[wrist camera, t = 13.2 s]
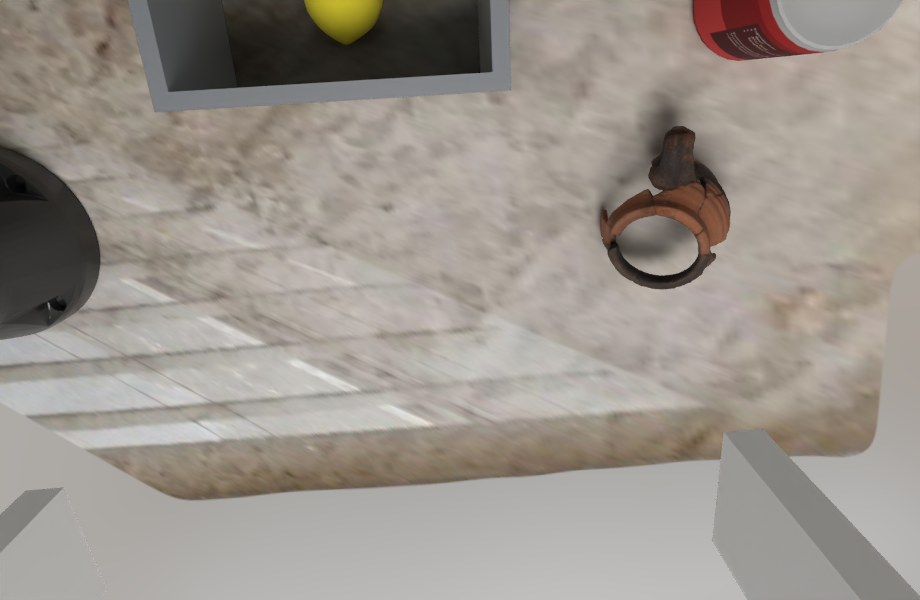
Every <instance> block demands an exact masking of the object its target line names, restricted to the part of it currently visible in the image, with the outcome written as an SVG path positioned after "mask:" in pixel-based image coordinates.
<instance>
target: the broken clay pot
mask: <svg viewBox="0 0 920 600" xmlns="http://www.w3.org/2000/svg"><path fill="white" fill-rule="evenodd" d="M694 142H695V133H694V132H693V131H691V130H689V129H687V128H686V127H684V126H675V127H673V128H672V129H671V130H670V131H668V132H667V133H666V135H665V139H664V143H663V149H662V152H661V153H660V155H658V156H657V157H656V158H655V159H653V161H652V167H651V168H650V172H649V175H648V176H649V179H650V181H651V183H652V185H653V186H654V187H655V188H657V189H660V190H663V191H662V192H660V193H659V194H657V195H655V196H653V195H652V194H651V192H650V191H649V190H648V189H647V190H644V191H642V192H641V193H639V194H637V195H635V196H634V197H632V198H630V199H628V200H627V201H626V202H624V203H623V204H622V205H621V206H620V207H618V208H617V209H616V210H615V211H614V212H613V213H612V214H611V216H610V217H609V219H608V217H607V211H606V210H602V212H601V220H600V227H601V236H602V237H603V239H602V241H603V244H604V245H605V247H606V249H607V250H608V256H609V258H610V260H611V262H612V264H613V265H614V266H615V268H616V269H617V271H618V272H619V273H620V274H621V275H622V276H624V277H625V278H627V279H629V280H631V281H633V282H634V283H636V284H639V285H640V286H645V287H648V288H652V289H671V288H676V287H679V286H682V285H685V284H687V283H690V282H691V281H692V280H694V279H696V278H697V277H699V276H700V275H701V274H702V273H703V270H704V269H705V268H706V267H707V266H709V265H710V264H711V263H712V262H713V261H714V260H715V258H716V254H715V253H713V254H712V253H711V251H710V247H711V246H714V245H717V244H718V243H721V242H722V241H724V240H725V239H726V236H727V233H728V231H729V226H730V206H729V201H728V199H727V197H726V195H725V192H724V190H723V189H722V187H721V186H720V184H719V183H718V181H717V179H716V178H715V176H714V175H713V173H712V172H711V171H710V170H709V169H708V168H707V167H705V166H704V165H702V164H700V163H698V162H696V161H694V160H693V148H694ZM697 179H699V180H700V183H701V184H700V183H699V182H697ZM654 215H658V216H665V217H669V218H672V219H675V220H677V221H679V222H681V223H683V224H684V225H685V226H687V227H688V228H689V229H690V230H691V231H692V232H693V234H694V235H695V237H696V239H697V242H698V248H699V249H698V251H699V254H698V257H697V259H696V261H695V262H694V263H693V264H692V265H691V266H690V267H689V268H688V269H686V270H684V271H683V272H680V273H678V274H673V275H665V276H659V275H652V274H648V273H645V272H643V271H640V270H638V269H637V268H635V267H633V266H632V265H631V264H629V263H628V262H627V261H626V260H625V259H624V257H623V256H622V254H621V252H620V250H619V246H618V244H617V243H616V236H618V235H620V234H621V232H622V231H623V230H624V229H625V228H626V226H627V225H629V224H630V223H631V222H633V221H635V220H637V219H640V218H643V217H648V216H654Z"/></svg>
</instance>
